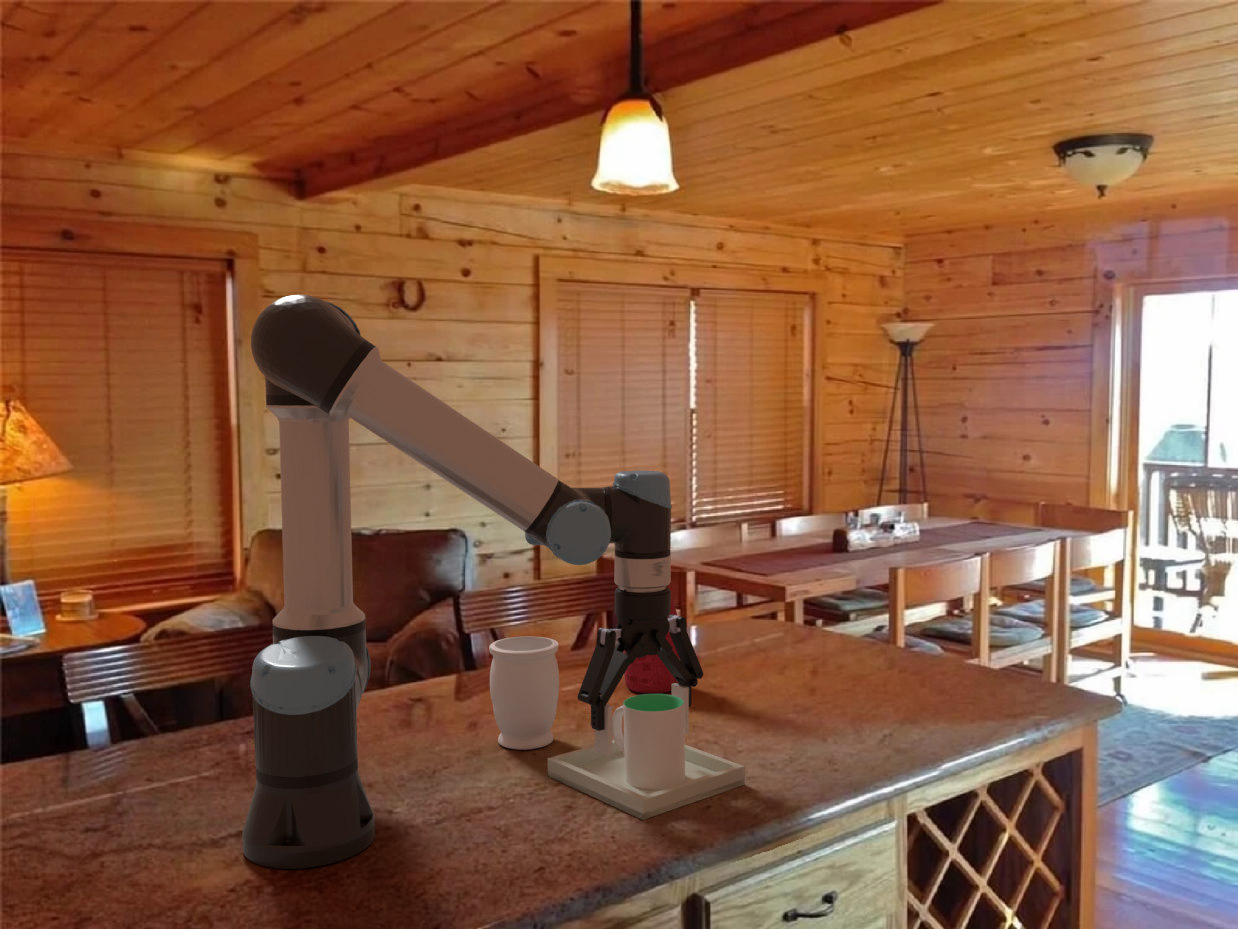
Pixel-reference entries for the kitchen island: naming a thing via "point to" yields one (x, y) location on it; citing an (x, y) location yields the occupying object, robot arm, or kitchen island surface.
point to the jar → (524, 690)
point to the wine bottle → (651, 671)
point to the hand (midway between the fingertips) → (642, 742)
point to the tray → (609, 786)
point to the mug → (651, 740)
